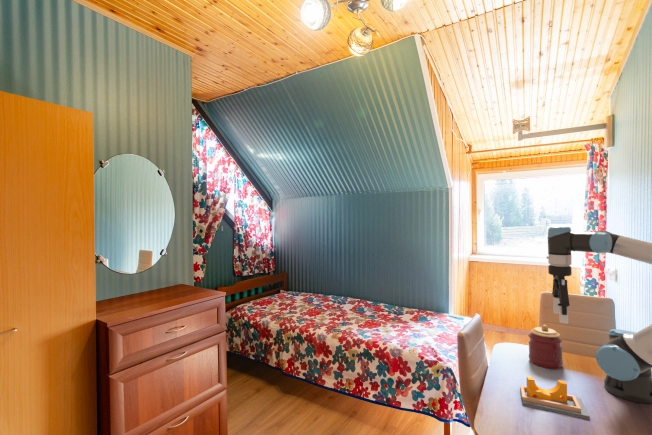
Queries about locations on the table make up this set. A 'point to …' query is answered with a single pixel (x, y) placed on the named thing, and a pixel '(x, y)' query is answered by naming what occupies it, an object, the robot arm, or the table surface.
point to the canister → (545, 348)
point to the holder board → (556, 404)
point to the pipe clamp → (547, 391)
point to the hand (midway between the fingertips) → (560, 318)
